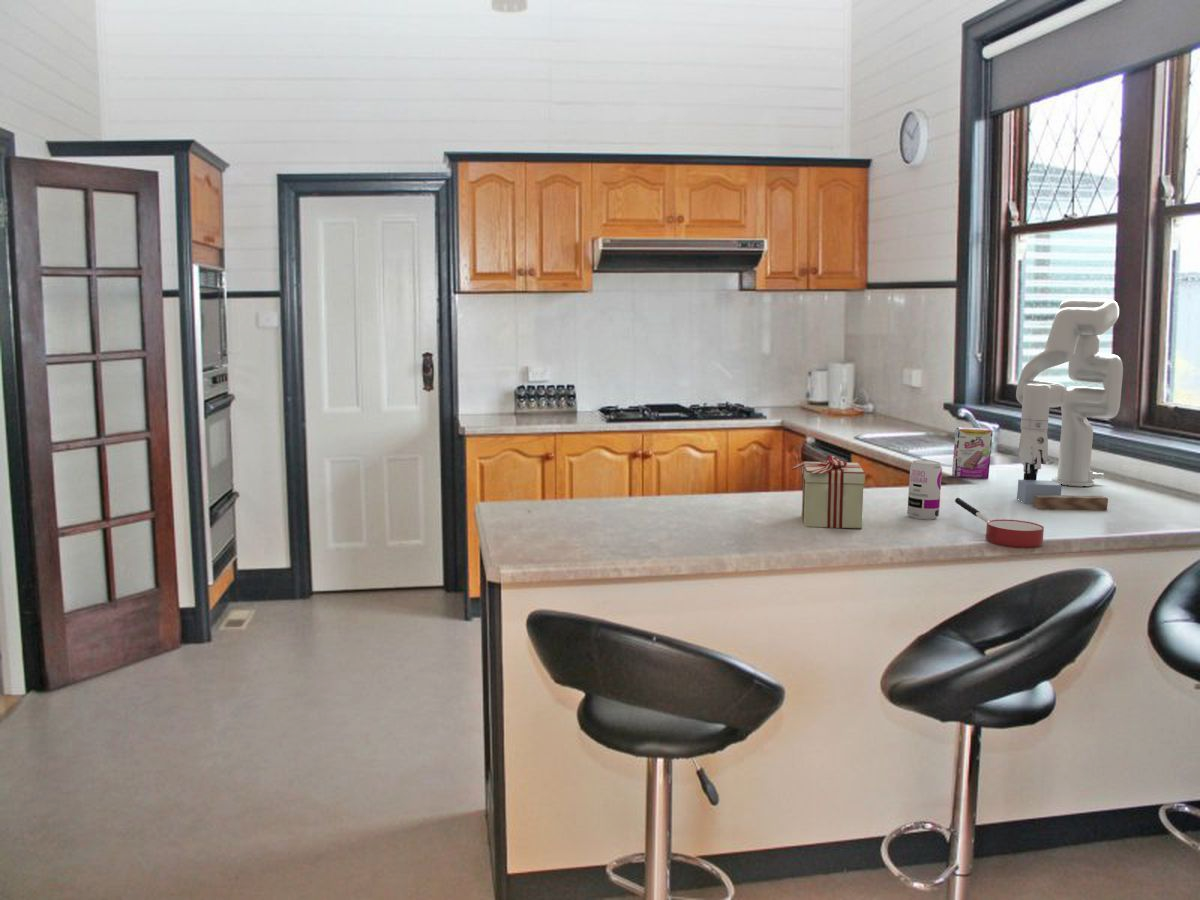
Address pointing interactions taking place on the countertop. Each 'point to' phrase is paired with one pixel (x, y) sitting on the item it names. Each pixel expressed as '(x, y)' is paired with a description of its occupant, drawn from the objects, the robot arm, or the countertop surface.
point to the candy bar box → (972, 453)
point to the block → (1036, 489)
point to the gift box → (832, 494)
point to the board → (1070, 502)
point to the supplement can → (924, 489)
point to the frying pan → (1009, 530)
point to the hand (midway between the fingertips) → (1029, 486)
